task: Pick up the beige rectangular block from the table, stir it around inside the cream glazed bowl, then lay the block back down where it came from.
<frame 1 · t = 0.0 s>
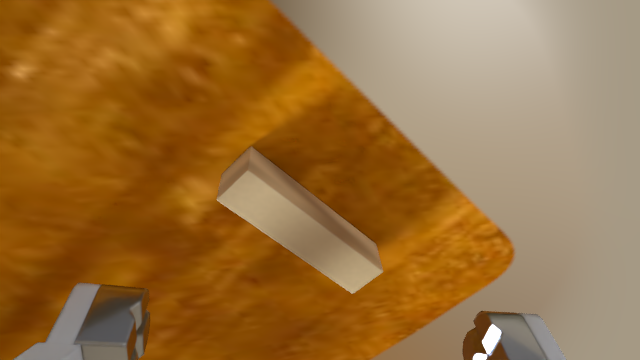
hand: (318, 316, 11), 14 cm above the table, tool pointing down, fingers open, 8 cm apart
beige rectangular block: (304, 211, 26), on the table
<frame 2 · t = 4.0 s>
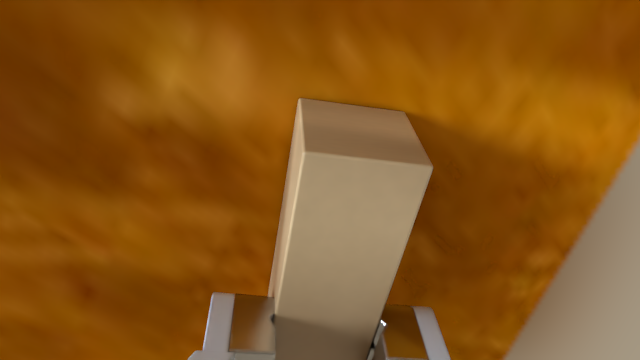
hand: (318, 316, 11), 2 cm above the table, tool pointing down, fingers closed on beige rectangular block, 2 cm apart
beige rectangular block: (315, 270, 13), on the table, touching gripper
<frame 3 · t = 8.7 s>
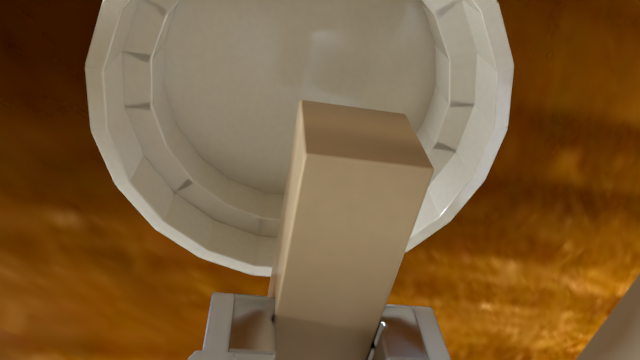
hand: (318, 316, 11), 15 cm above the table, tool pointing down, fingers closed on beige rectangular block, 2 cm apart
beige rectangular block: (315, 271, 13), point 14 cm above the table, touching gripper
bowl: (301, 81, 24), on the table
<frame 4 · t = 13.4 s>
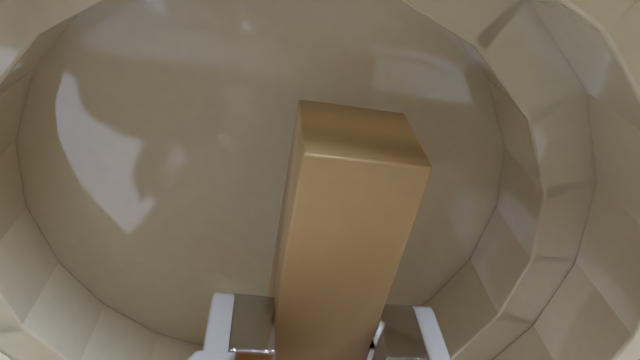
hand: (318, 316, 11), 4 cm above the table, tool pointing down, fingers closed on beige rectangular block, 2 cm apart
beige rectangular block: (315, 271, 13), point 2 cm above the table, touching gripper
bowl: (271, 194, 14), on the table
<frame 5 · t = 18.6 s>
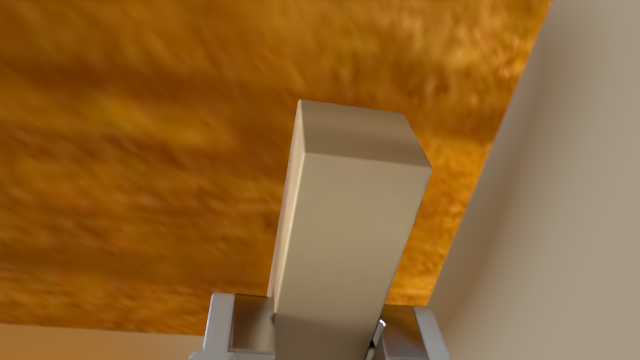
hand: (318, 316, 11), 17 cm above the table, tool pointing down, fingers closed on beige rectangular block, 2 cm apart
beige rectangular block: (314, 271, 13), point 15 cm above the table, touching gripper
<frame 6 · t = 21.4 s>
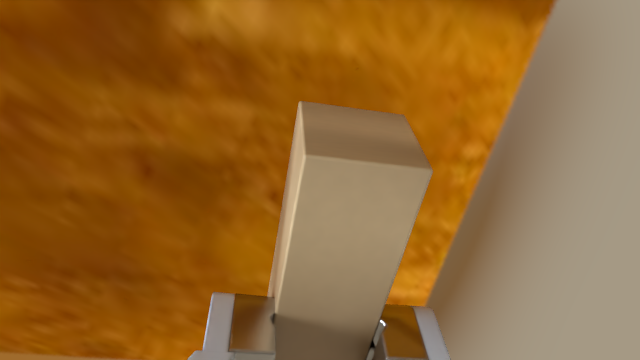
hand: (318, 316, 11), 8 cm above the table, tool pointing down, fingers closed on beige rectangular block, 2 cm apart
beige rectangular block: (314, 272, 13), point 6 cm above the table, touching gripper
when the fingers open (1 cm above the table, at t = 23.1 s): beige rectangular block stays where it is, on the table.
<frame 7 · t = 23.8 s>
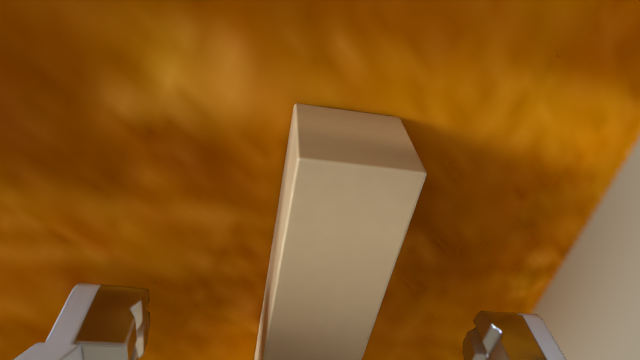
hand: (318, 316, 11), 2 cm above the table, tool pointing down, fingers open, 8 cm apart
beige rectangular block: (311, 274, 13), on the table
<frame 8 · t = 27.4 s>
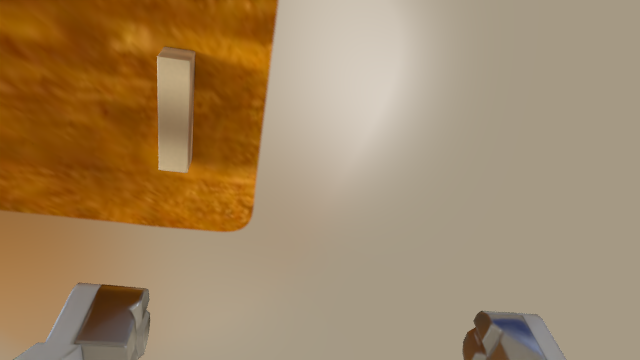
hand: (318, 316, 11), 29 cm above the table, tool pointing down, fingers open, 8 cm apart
beige rectangular block: (179, 106, 39), on the table
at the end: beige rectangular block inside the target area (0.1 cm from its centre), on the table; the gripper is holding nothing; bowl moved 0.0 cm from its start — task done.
